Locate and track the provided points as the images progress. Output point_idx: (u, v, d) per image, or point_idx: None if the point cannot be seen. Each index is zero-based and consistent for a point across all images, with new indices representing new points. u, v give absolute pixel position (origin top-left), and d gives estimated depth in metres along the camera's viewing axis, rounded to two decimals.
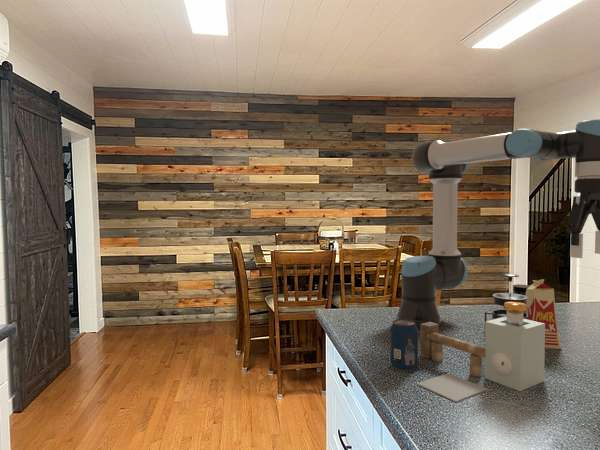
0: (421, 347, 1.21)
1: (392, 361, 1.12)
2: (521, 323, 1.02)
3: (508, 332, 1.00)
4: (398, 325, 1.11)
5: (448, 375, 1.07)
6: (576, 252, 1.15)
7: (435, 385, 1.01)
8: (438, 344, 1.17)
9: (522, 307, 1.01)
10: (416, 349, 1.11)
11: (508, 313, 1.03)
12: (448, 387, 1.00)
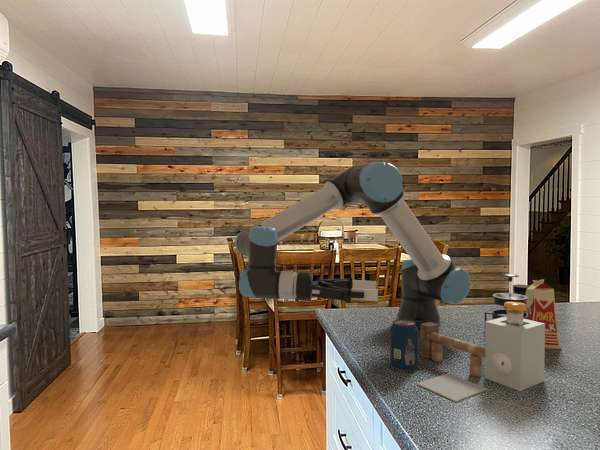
0: (421, 347, 1.21)
1: (392, 361, 1.12)
2: (521, 323, 1.02)
3: (508, 332, 1.00)
4: (398, 325, 1.11)
5: (448, 375, 1.07)
6: None
7: (435, 385, 1.01)
8: (438, 344, 1.17)
9: (522, 307, 1.01)
10: (416, 349, 1.11)
11: (508, 313, 1.03)
12: (448, 387, 1.00)
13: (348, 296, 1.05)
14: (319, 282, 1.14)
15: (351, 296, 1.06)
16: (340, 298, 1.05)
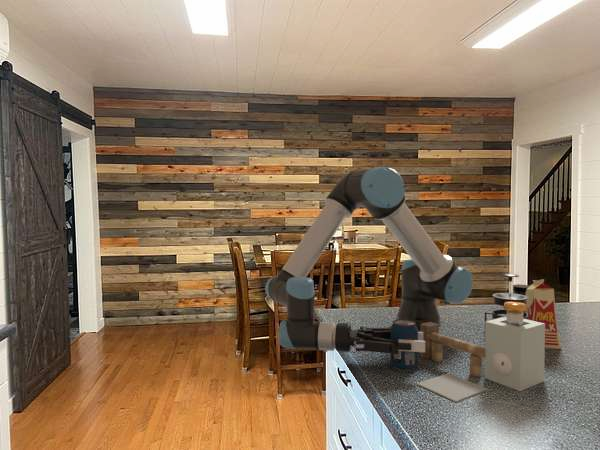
0: None
1: (392, 361, 1.12)
2: (521, 323, 1.02)
3: (508, 332, 1.00)
4: (398, 325, 1.11)
5: (448, 375, 1.07)
6: None
7: (435, 385, 1.01)
8: (438, 344, 1.17)
9: (522, 307, 1.01)
10: None
11: (508, 313, 1.03)
12: (448, 387, 1.00)
13: (396, 348, 1.07)
14: (359, 334, 1.14)
15: (398, 348, 1.08)
16: (388, 351, 1.07)
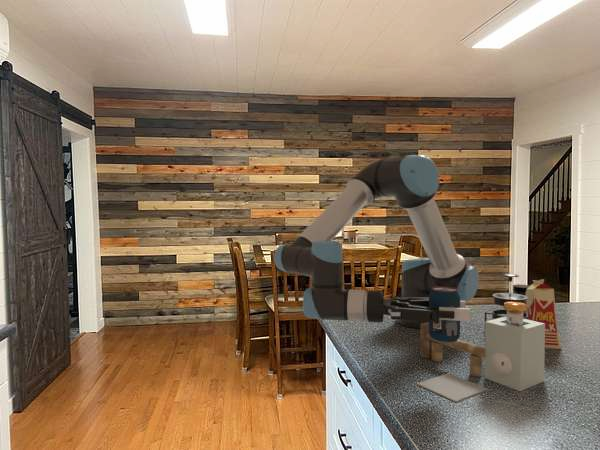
0: (421, 347, 1.21)
1: (431, 332, 1.00)
2: (521, 323, 1.02)
3: (508, 332, 1.00)
4: (438, 291, 0.98)
5: (448, 375, 1.07)
6: None
7: (435, 385, 1.01)
8: (438, 344, 1.17)
9: (522, 307, 1.01)
10: None
11: (508, 313, 1.03)
12: (448, 387, 1.00)
13: (437, 316, 0.95)
14: (393, 302, 1.01)
15: (440, 316, 0.96)
16: (428, 319, 0.95)
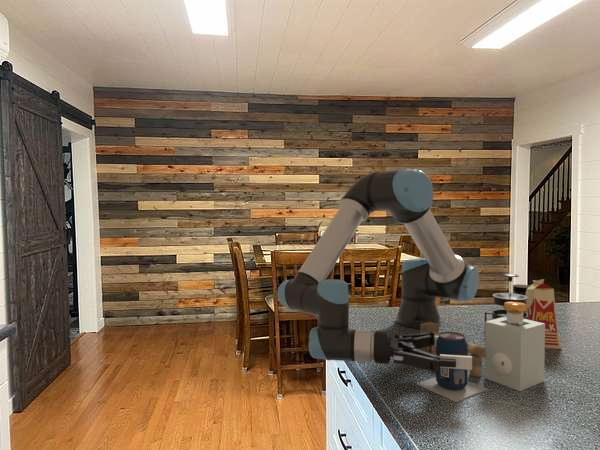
0: None
1: (438, 379, 1.00)
2: (521, 323, 1.02)
3: (508, 332, 1.00)
4: (446, 339, 0.98)
5: None
6: None
7: (435, 385, 1.01)
8: None
9: (522, 307, 1.01)
10: None
11: (508, 313, 1.03)
12: None
13: (438, 365, 0.92)
14: (400, 344, 1.01)
15: (441, 365, 0.93)
16: (429, 368, 0.92)
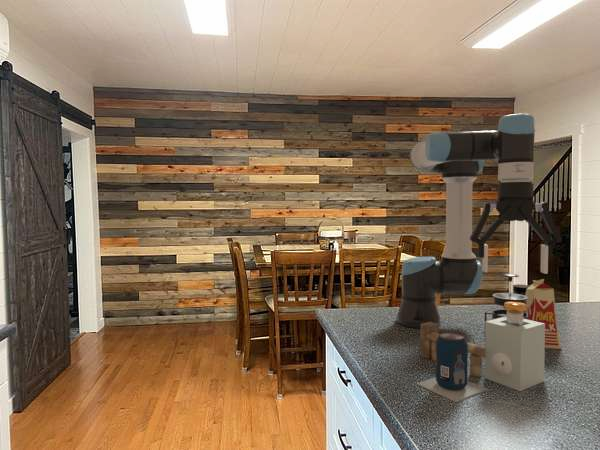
0: (421, 347, 1.21)
1: (438, 379, 1.00)
2: (521, 323, 1.02)
3: (508, 332, 1.00)
4: (446, 339, 0.98)
5: None
6: (483, 265, 1.04)
7: (435, 385, 1.01)
8: None
9: (522, 307, 1.01)
10: (466, 366, 0.98)
11: (508, 313, 1.03)
12: None
13: None
14: None
15: None
16: None
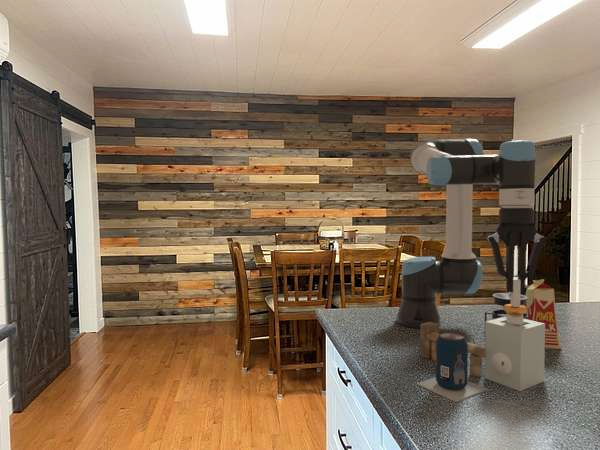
0: (421, 347, 1.21)
1: (438, 379, 1.00)
2: None
3: (508, 332, 1.00)
4: (446, 339, 0.98)
5: None
6: (512, 299, 1.03)
7: (435, 385, 1.01)
8: None
9: (522, 310, 1.01)
10: (466, 366, 0.98)
11: (508, 316, 1.03)
12: None
13: None
14: None
15: None
16: None
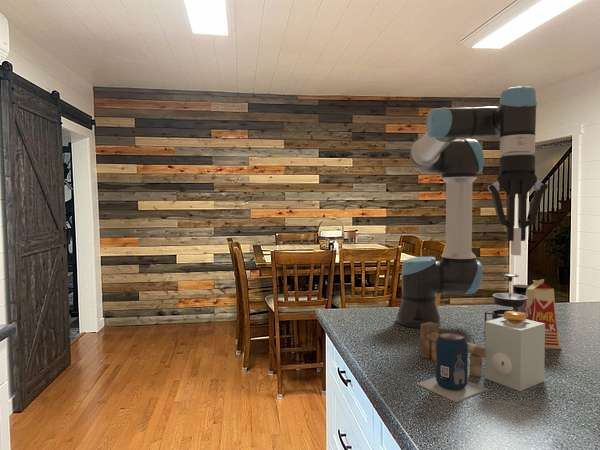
0: (421, 347, 1.21)
1: (438, 379, 1.00)
2: None
3: (508, 332, 1.00)
4: (446, 339, 0.98)
5: None
6: (512, 248, 1.03)
7: (435, 385, 1.01)
8: None
9: (522, 317, 1.01)
10: (466, 366, 0.98)
11: (508, 323, 1.04)
12: None
13: None
14: None
15: None
16: None
